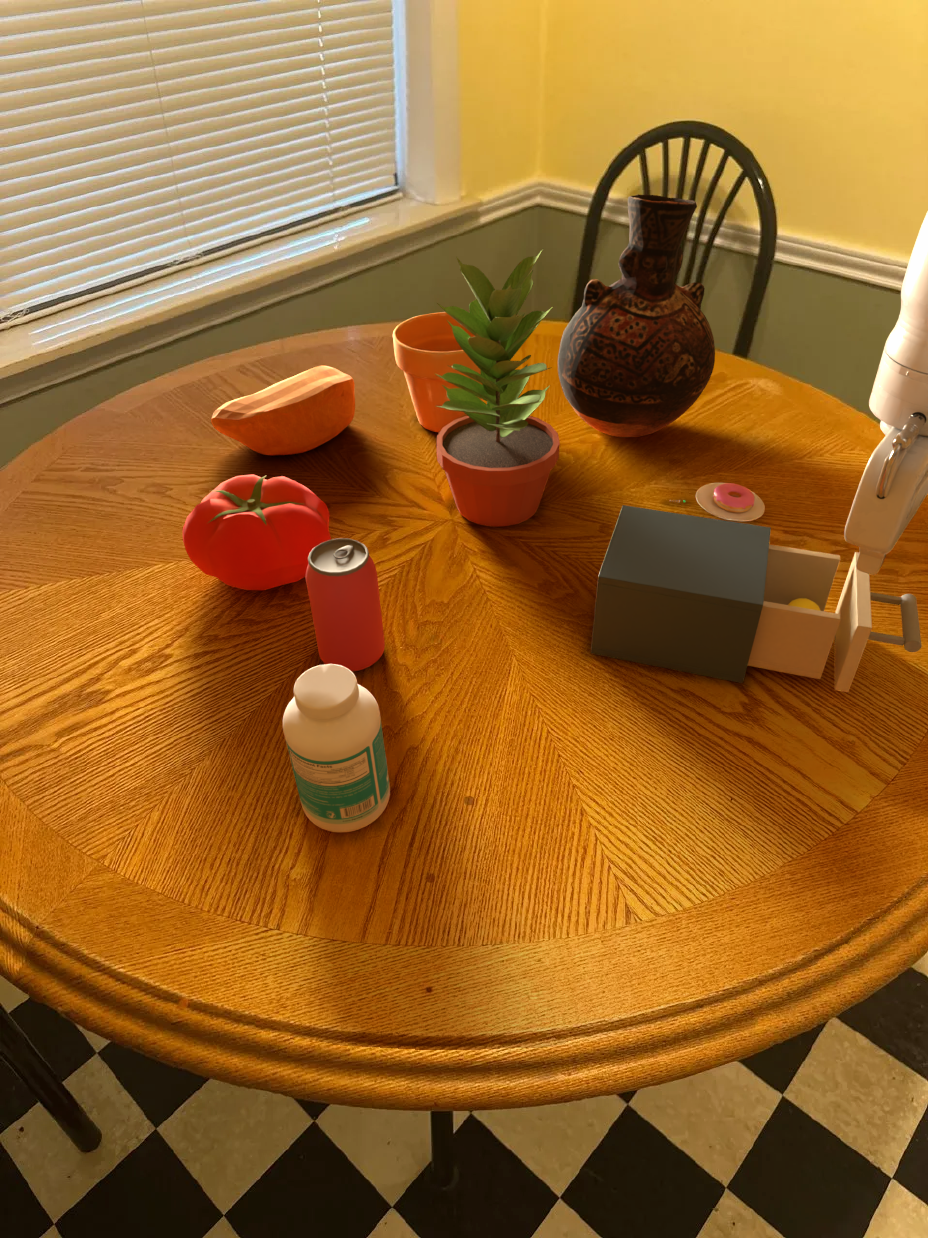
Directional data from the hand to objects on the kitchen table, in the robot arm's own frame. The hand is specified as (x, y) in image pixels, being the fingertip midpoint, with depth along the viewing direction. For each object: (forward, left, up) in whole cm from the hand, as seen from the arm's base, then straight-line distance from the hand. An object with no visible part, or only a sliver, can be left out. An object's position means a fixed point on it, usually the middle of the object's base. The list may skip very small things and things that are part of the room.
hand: (885, 542), depth 74 cm
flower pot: (+53, -37, -14) cm, 67 cm away
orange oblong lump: (+73, -26, -14) cm, 79 cm away
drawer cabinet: (+16, 0, -14) cm, 21 cm away
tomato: (+61, +3, -14) cm, 63 cm away
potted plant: (+40, -17, -14) cm, 46 cm away
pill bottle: (+39, +30, -14) cm, 51 cm away
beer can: (+46, +13, -14) cm, 50 cm away
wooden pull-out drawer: (+4, 0, -13) cm, 14 cm away
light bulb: (+4, 0, -12) cm, 13 cm away
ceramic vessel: (+28, -42, -14) cm, 53 cm away
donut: (+14, -24, -14) cm, 32 cm away
